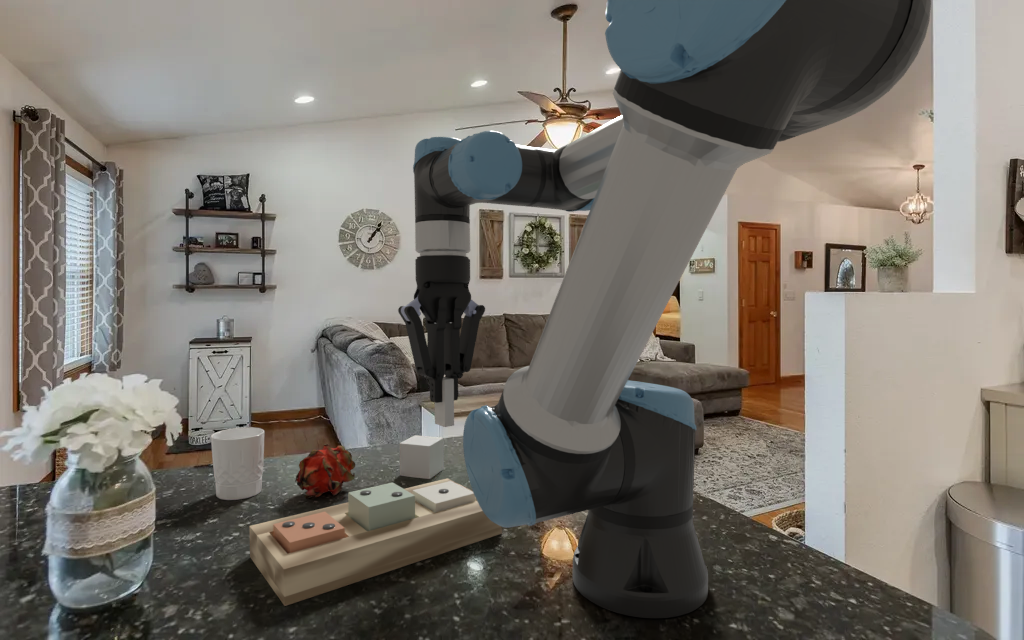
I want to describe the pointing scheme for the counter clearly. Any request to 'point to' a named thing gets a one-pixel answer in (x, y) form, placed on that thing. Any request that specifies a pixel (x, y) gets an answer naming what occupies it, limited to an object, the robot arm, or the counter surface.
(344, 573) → the key panel
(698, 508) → the counter surface
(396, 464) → the counter surface
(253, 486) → the white cup
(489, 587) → the counter surface
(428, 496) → the key one
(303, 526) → the key three
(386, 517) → the key two
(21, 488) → the counter surface
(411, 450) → the white cube
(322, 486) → the dragon fruit
